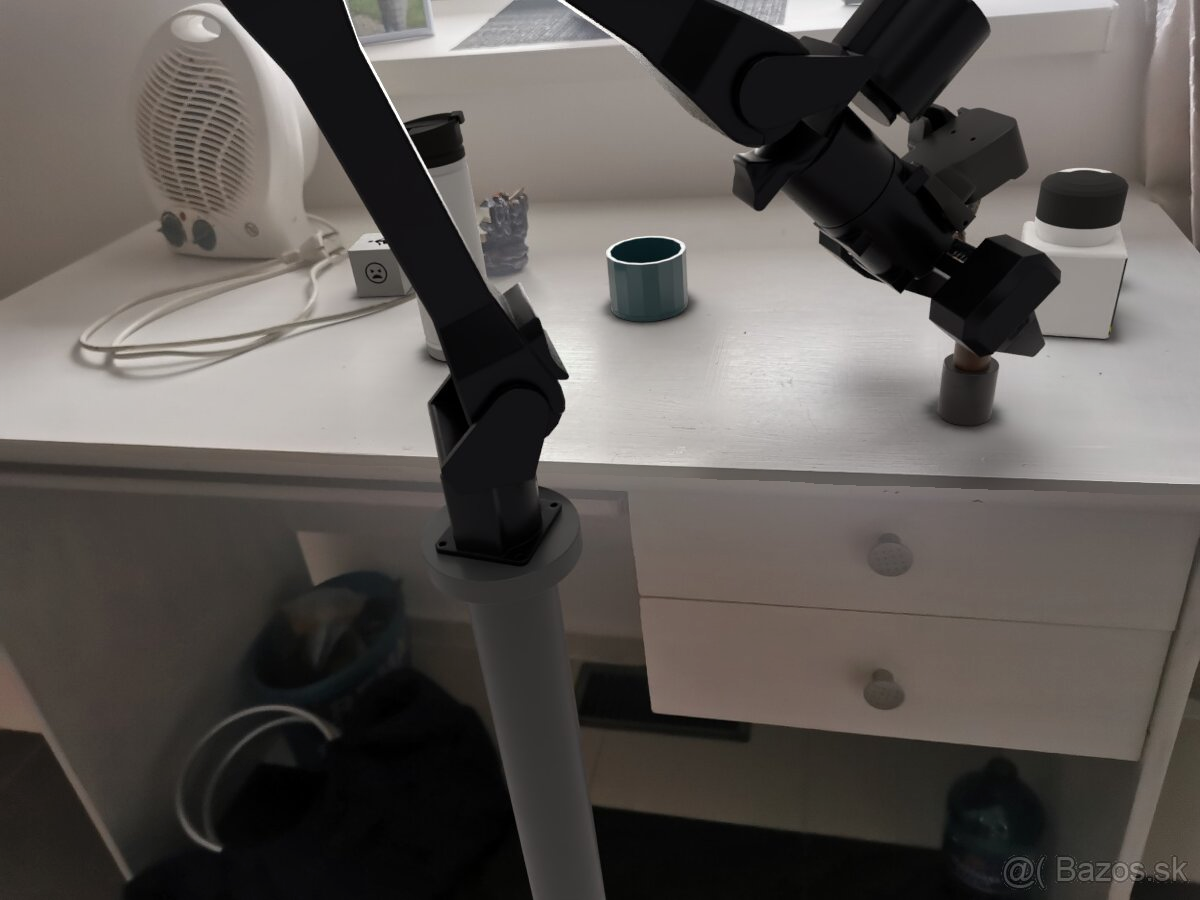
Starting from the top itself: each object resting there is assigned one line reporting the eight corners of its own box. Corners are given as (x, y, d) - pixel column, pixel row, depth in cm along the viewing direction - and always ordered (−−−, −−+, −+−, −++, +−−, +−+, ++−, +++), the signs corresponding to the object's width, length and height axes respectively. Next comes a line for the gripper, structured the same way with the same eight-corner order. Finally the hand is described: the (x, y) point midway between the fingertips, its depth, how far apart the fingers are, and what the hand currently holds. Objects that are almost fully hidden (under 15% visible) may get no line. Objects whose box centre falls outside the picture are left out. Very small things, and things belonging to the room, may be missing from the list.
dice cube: (405, 295, 93) (394, 248, 91) (359, 296, 94) (347, 250, 91) (419, 276, 97) (409, 231, 95) (374, 278, 98) (364, 233, 96)
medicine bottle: (1109, 340, 72) (1144, 189, 65) (1011, 334, 74) (1036, 188, 68) (1101, 304, 77) (1133, 161, 71) (1010, 299, 80) (1033, 161, 73)
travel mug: (497, 359, 79) (457, 121, 68) (422, 365, 79) (370, 129, 68) (504, 329, 84) (468, 103, 73) (434, 334, 84) (388, 111, 74)
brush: (991, 428, 63) (1015, 278, 57) (936, 423, 64) (954, 276, 58) (991, 402, 66) (1014, 257, 60) (938, 398, 67) (956, 255, 61)
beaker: (676, 324, 82) (673, 266, 79) (600, 319, 84) (595, 262, 81) (696, 292, 87) (694, 237, 84) (625, 288, 90) (620, 234, 87)
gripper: (1061, 100, 44) (1197, 274, 51) (868, 48, 59) (995, 188, 67) (899, 283, 47) (1051, 422, 54) (756, 188, 62) (890, 307, 70)
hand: (993, 322), depth 61 cm, fingers open, 9 cm apart
